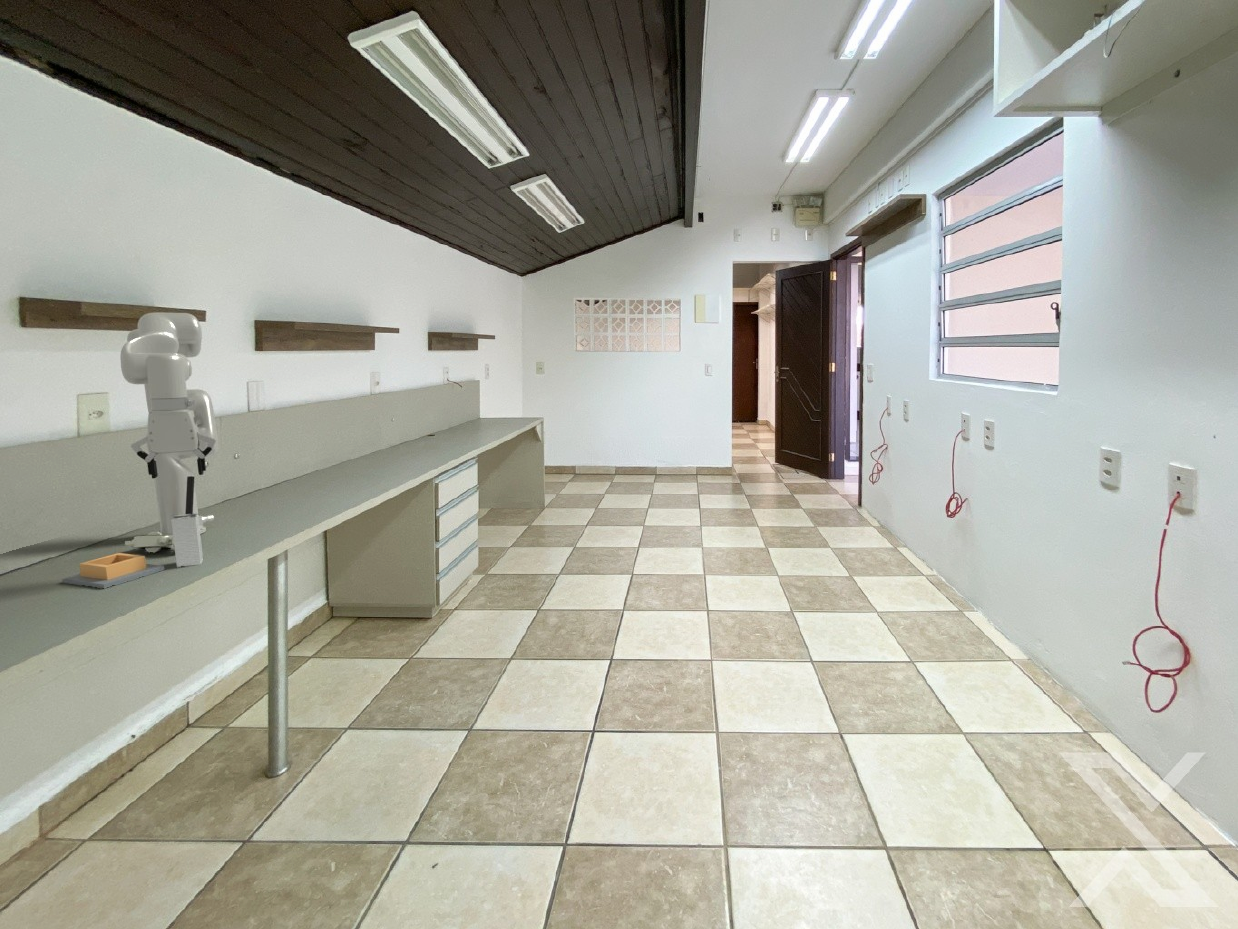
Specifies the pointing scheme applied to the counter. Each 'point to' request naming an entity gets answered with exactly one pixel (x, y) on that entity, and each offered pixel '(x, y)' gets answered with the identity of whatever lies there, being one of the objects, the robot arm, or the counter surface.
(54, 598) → the counter surface
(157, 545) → the butterfly valve
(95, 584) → the collar plate
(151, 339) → the robot arm
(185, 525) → the block
